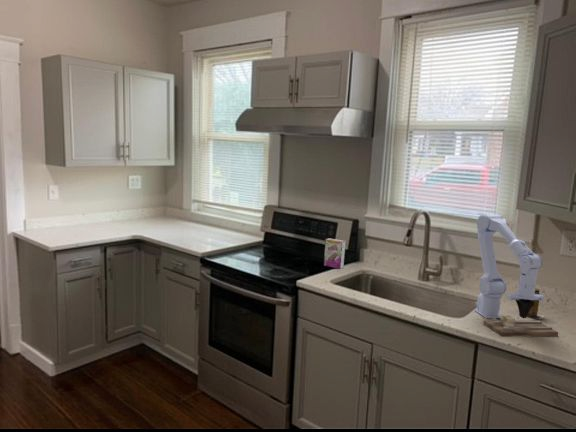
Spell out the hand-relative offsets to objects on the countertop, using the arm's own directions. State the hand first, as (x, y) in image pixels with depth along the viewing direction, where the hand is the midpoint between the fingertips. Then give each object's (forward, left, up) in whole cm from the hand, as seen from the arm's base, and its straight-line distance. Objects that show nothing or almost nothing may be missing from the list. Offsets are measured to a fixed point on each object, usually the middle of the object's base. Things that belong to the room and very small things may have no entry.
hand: (522, 317), depth 175 cm
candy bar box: (-94, -55, -6) cm, 109 cm away
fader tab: (0, -6, -4) cm, 7 cm away
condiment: (-16, +16, -6) cm, 23 cm away
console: (0, -1, -5) cm, 5 cm away
